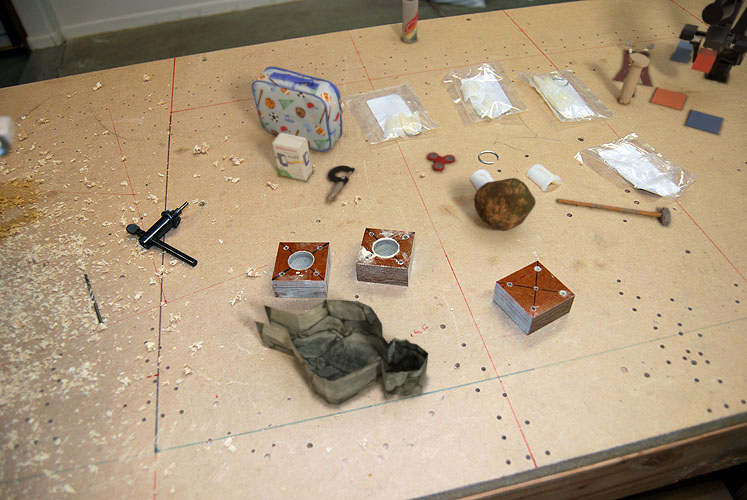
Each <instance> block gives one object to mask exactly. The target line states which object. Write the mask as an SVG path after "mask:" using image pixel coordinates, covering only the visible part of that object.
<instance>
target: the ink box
mask: <svg viewBox="0 0 747 500" xmlns="http://www.w3.org/2000/svg"><path fill="white" fill-rule="evenodd" d="M271 144H272V149H273V153H274V156H275V161H276V165H277V168H278V174H279V176H282V177H287V178H292V179H297V180H300V181H307V180H308V179H309V177H310V176H311V174H312V172H313V165H312V160H311V154H310V148H308V142H307V139H305V138H303V137H299V136H294V135H289V134H285V133H280V134H279V135H278V136H275V138H274V140H272V142H271Z"/></svg>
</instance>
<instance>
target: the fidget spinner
mask: <svg viewBox="0 0 747 500" xmlns="http://www.w3.org/2000/svg"><path fill="white" fill-rule="evenodd" d="M427 159H428V161H431V162H434V163H433V164H432V169H433V170H434V171H436V172H441V171H443V170H444V169H445V164H453V163H455V162H456V157H455V155H453V154H446V155H443V156H440V155H439V153H437V152H434V151H433V152H429V153H428V154H427Z"/></svg>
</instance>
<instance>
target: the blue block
mask: <svg viewBox="0 0 747 500" xmlns="http://www.w3.org/2000/svg"><path fill="white" fill-rule="evenodd" d="M689 42H690V41H686V40H681V39H679V41H678V43H677V46H676V48H675V50H674V53H673V55H672V58H671V60H672V61H675V62H679V63H685V64H687V63H688V61H689V59H690V57H691V54H692V53H693V45H692V44H690V43H689Z"/></svg>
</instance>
